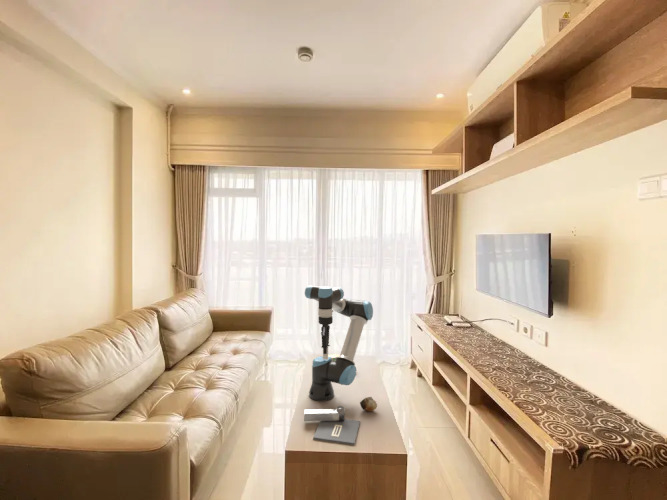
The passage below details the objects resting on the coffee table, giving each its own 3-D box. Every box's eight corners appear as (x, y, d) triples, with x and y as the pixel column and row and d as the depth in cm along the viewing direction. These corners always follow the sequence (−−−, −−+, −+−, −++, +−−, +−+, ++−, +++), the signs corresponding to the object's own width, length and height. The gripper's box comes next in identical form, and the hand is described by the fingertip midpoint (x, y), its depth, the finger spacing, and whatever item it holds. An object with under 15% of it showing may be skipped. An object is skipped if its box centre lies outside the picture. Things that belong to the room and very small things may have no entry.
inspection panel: (322, 417, 183) (323, 415, 183) (360, 422, 179) (360, 420, 179) (313, 439, 163) (313, 436, 163) (354, 445, 159) (354, 442, 159)
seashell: (376, 408, 193) (376, 394, 193) (377, 413, 188) (377, 399, 187) (359, 408, 194) (360, 394, 193) (360, 413, 188) (360, 399, 188)
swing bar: (344, 417, 181) (344, 406, 181) (344, 421, 177) (345, 409, 177) (304, 417, 179) (304, 406, 179) (304, 422, 175) (304, 410, 175)
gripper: (330, 319, 176) (330, 364, 178) (334, 313, 189) (334, 354, 190) (316, 318, 177) (316, 363, 179) (320, 312, 190) (321, 354, 192)
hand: (325, 358), depth 185 cm, fingers closed
